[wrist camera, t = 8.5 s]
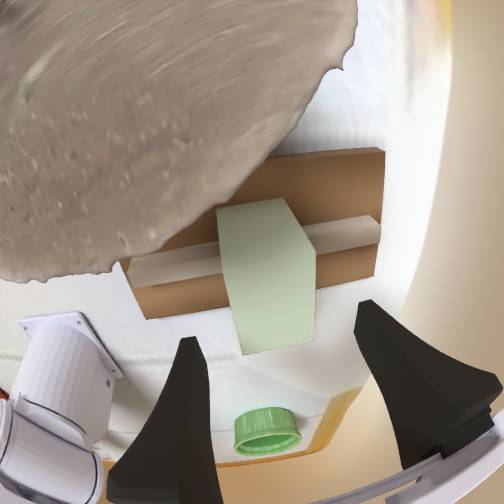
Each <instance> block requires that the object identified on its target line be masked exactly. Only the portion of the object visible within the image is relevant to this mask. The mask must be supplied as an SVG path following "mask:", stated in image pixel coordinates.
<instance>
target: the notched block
mask: <svg viewBox="0 0 504 504" xmlns="http://www.w3.org/2000/svg"><path fill="white" fill-rule="evenodd" d="M216 213H217V224H218V235H219V246H220V256H221V265H222V272H223V276H224V281H225V285H226V289H227V293H228V298H229V302H230V306H231V310H232V314H233V319H234V323H235V327H236V331H237V335H238V339H239V343H240V347H241V351H242V355H248V354H254V353H259V352H264V351H269V350H274V349H279V348H284V347H289V346H293V345H298V344H302V343H306V342H311V341H314V320H315V280H316V251H315V250H314V248H313V246H312V245H311V243H310V241H309V239H308V238H307V236H306V234H305V233H304V231H303V229H302V228H301V226H300V224H299V223H298V221H297V219H296V218H295V216H294V214H293V213H292V211H291V210H290V208H289V206H288V205H287V203H286V201H285V200H284V198H283V197H282V198H275V199H269V200H263V201H257V202H251V203H245V204H240V205H234V206H229V207H223V208H218V209H216Z"/></svg>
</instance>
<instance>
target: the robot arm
mask: <svg viewBox="0 0 504 504" xmlns="http://www.w3.org/2000/svg"><path fill="white" fill-rule="evenodd" d="M19 324H20V326H21V327H22V328H23V330H24V331H25V332H26V334H27V335H28V336H29V338H30V339H31V340H30V343H29V345H28V347H27V350H26V352H25V355H24V357H23V360H22V362H21V365H20V368H19V370H18V373H17V376H16V379H15V382H14V385H13V388H12V391H11V394H10V397H9V400H8V401H6V400H5V399H0V504H96V503H97V502H98V500H99V499H100V497H101V495H102V493H103V490H104V485H105V474H104V469H103V464H102V461H101V459H100V457H99V455H98V454H97V453H96V452H95V451H94V450H93V449H92V447H93V444H95V443H97V442H98V441H100V440H101V439H102V437H103V436H104V434H105V433H106V431H107V428H108V425H109V418H110V410H111V403H112V396H113V389H114V383H115V379H121V378H122V377H123V373H122V372H121V371H120V369H119V368H118V367H117V365H116V364H115V363H114V361H113V360H112V359H111V357H110V356H109V354H108V353H107V352H106V350H105V349H104V347H103V346H102V344H101V343H100V342H99V340H98V339H97V337H96V336H95V334H94V333H93V331H92V330H91V328H90V326H89V325H88V323H87V322H86V320H85V319H84V317H83V315H82V314H81V313H79V312H71V313H64V314H56V315H48V316H40V317H32V318H23V319H21V320H20V322H19ZM354 335H355V337H356V340H357V343H358V346H359V348H360V351H361V353H362V355H363V357H364V359H365V361H366V363H367V365H368V367H369V369H370V371H371V373H372V375H373V376H374V378H375V380H376V382H377V384H378V386H379V388H380V391H381V393H382V395H383V398H384V401H385V403H386V406H387V409H388V412H389V415H390V419H391V422H392V425H393V428H394V432H395V437H396V440H397V445H398V450H399V455H400V460H401V465H402V468H403V471H402V472H400V473H397V474H395V475H393V476H390V477H388V478H385V479H383V480H381V481H378V482H375V483H373V484H370V485H368V486H365V487H362V488H359V489H356V490H353V491H350V492H347V493H344V494H342V495H338V496H334V497H331V498H328V499H324V500H320V501H316V502H312V503H308V504H357V503H360V502H363V501H366V500H369V499H371V498H374V497H376V496H379V495H381V494H384V493H386V492H389V491H391V490H393V489H395V488H398V487H400V486H402V485H404V484H407V483H408V482H410V481H413V480H415V479H417V478H418V479H417V480H416V483H415V484H414V485H412V486H410V487H408V488H406V489H404V490H402V491H400V492H398V493H396V494H394V495H392V496H389V497H388V498H386V499H385V501H386V504H453V503H454V502H456V501H457V500H459V499H460V498H462V497H463V496H464V495H466V494H467V493H468V492H470V491H471V490H472V489H474V488H475V487H476V486H477V485H479V484H480V483H481V482H482V481H484V479H486V478H487V477H488V476H490V475H491V474H492V473H493V472H494V471H495V470H496V469H497V468H499V467H500V466H501V465H502V464H503V463H504V408H503V409H501V410H500V411H499V412H497V413H496V414H495V415H494V416H492V417H490V414H489V413H490V412H491V408H490V407H489V405H490V404H491V403H492V402H493V401H494V400H495V399H496V398H497V397H498V396H499V394H500V393H501V392H502V390H503V386H502V384H501V383H500V381H499V380H498V378H497V377H496V375H495V374H493V373H490V372H487V371H483V370H480V369H477V368H474V367H472V366H469V365H467V364H464V363H462V362H460V361H457V360H456V359H454V358H451V357H450V356H447V355H445V354H444V353H442V352H440V351H438V350H437V349H435V348H434V347H432V346H430V345H429V344H427V343H426V342H424V341H422V340H421V339H420V338H418V337H417V336H416V335H414V334H413V333H411V332H410V331H409V330H408V329H406V328H405V327H404V326H403V325H401V324H400V323H399V322H398V321H396V320H395V319H394V318H393V317H392V316H390V315H389V314H388V313H387V312H386V311H384V310H383V309H382V308H381V307H380V306H378V305H377V304H376V303H375V302H374V301H372V300H371V299H370V300H366V301H362V302H359V305H358V311H357V317H356V322H355V328H354ZM106 499H107V500H108V501H109V502H112V503H114V504H223V499H222V495H221V491H220V486H219V481H218V477H217V471H216V466H215V460H214V454H213V448H212V441H211V432H210V388H209V377H208V369H207V363H206V360H205V358H204V356H203V353H202V351H201V348H200V346H199V343H198V341H197V338H196V336H193V337H187V338H182V339H181V340H180V343H179V346H178V350H177V353H176V356H175V359H174V362H173V365H172V368H171V370H170V373H169V376H168V378H167V381H166V383H165V386H164V388H163V390H162V392H161V395H160V397H159V399H158V401H157V403H156V405H155V407H154V409H153V411H152V413H151V415H150V416H149V418H148V420H147V422H146V423H145V425H144V427H143V428H142V430H141V431H140V433H139V434H138V436H137V437H136V439H135V440H134V441H133V443H132V444H131V446H130V447H129V448H128V450H127V451H126V452H125V453H124V455H123V456H122V457H121V458H120V459H119V460H118V462H117V463H116V464H115V465H114V466H113V467H112V468H111V469H110V470H109V472H108V478H107V490H106Z"/></svg>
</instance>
